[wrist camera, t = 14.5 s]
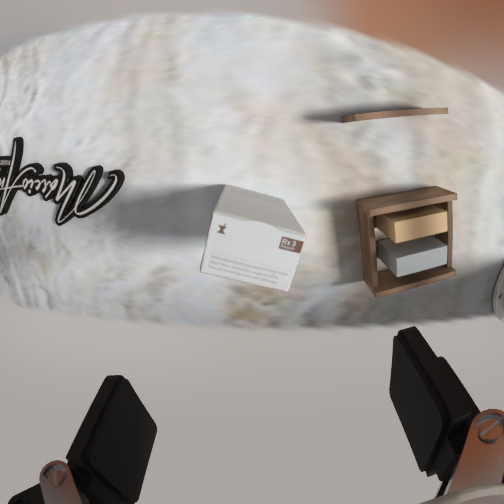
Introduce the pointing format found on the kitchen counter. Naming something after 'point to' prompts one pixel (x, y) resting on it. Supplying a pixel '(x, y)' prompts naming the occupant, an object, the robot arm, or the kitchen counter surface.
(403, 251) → the slate offcut
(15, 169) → the nameplate
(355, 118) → the walnut rack
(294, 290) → the kitchen counter surface
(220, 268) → the skincare box
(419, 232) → the oak offcut
